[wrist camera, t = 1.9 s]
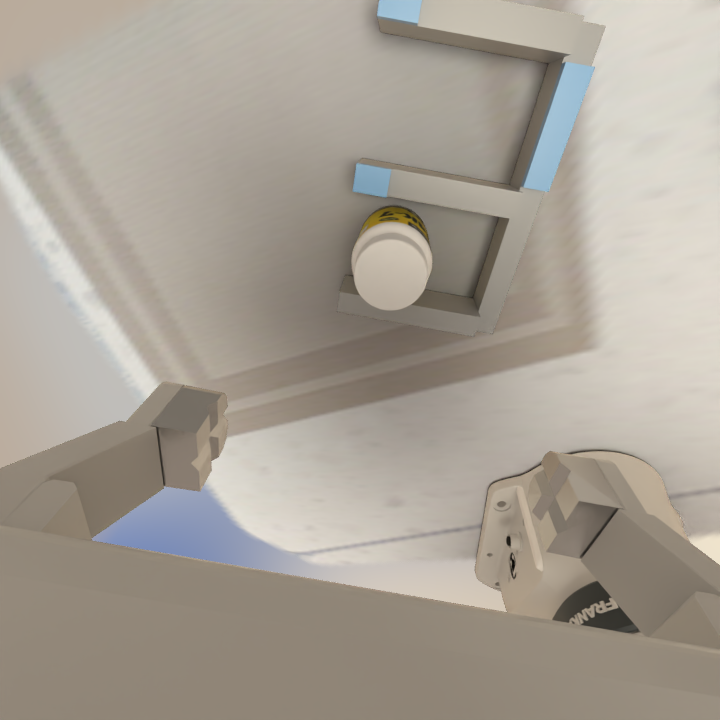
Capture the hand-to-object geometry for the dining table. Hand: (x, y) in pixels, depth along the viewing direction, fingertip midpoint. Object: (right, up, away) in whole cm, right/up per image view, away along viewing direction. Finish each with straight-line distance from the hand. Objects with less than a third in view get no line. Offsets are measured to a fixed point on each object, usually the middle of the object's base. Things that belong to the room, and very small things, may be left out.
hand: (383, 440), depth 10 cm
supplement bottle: (+2, +11, +19) cm, 22 cm away
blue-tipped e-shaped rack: (+5, +14, +16) cm, 22 cm away
